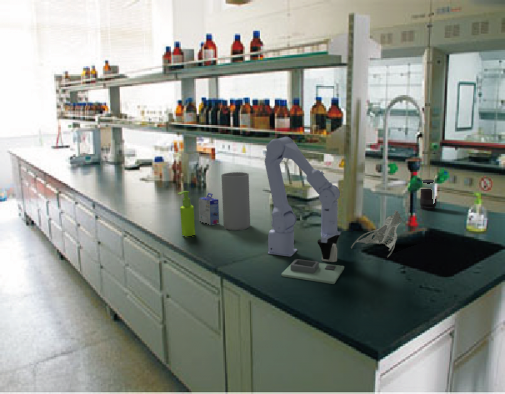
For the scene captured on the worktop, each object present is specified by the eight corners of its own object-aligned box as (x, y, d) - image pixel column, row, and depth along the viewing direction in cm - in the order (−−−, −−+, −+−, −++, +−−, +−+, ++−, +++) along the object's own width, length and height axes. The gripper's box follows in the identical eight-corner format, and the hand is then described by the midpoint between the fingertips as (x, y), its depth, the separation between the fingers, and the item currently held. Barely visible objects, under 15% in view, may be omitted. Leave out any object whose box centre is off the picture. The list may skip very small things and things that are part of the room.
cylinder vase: (234, 232, 194) (232, 177, 189) (218, 227, 204) (215, 174, 198) (255, 227, 202) (254, 174, 197) (239, 221, 212) (237, 171, 206)
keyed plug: (321, 260, 158) (321, 245, 156) (323, 257, 160) (324, 242, 159) (335, 262, 156) (335, 246, 154) (337, 259, 158) (337, 244, 157)
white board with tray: (281, 276, 145) (281, 268, 144) (294, 261, 157) (294, 254, 157) (334, 284, 138) (334, 275, 137) (344, 268, 150) (344, 260, 149)
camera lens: (417, 207, 230) (418, 179, 227) (432, 206, 230) (434, 179, 227) (422, 210, 222) (424, 182, 219) (438, 210, 222) (440, 181, 219)
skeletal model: (349, 249, 169) (372, 198, 179) (357, 261, 175) (379, 211, 185) (388, 257, 158) (410, 202, 168) (395, 270, 164) (416, 216, 174)
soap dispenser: (177, 236, 192) (174, 191, 187) (189, 232, 197) (186, 189, 192) (185, 238, 188) (182, 193, 183) (197, 234, 193) (195, 190, 188)
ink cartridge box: (220, 223, 209) (218, 194, 206) (210, 226, 206) (209, 196, 203) (208, 219, 217) (206, 191, 214) (199, 222, 213) (197, 193, 210)
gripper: (335, 226, 147) (334, 263, 150) (345, 215, 160) (344, 250, 163) (315, 224, 150) (315, 261, 153) (326, 214, 162) (326, 248, 165)
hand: (328, 255), depth 158 cm, fingers open, 7 cm apart
